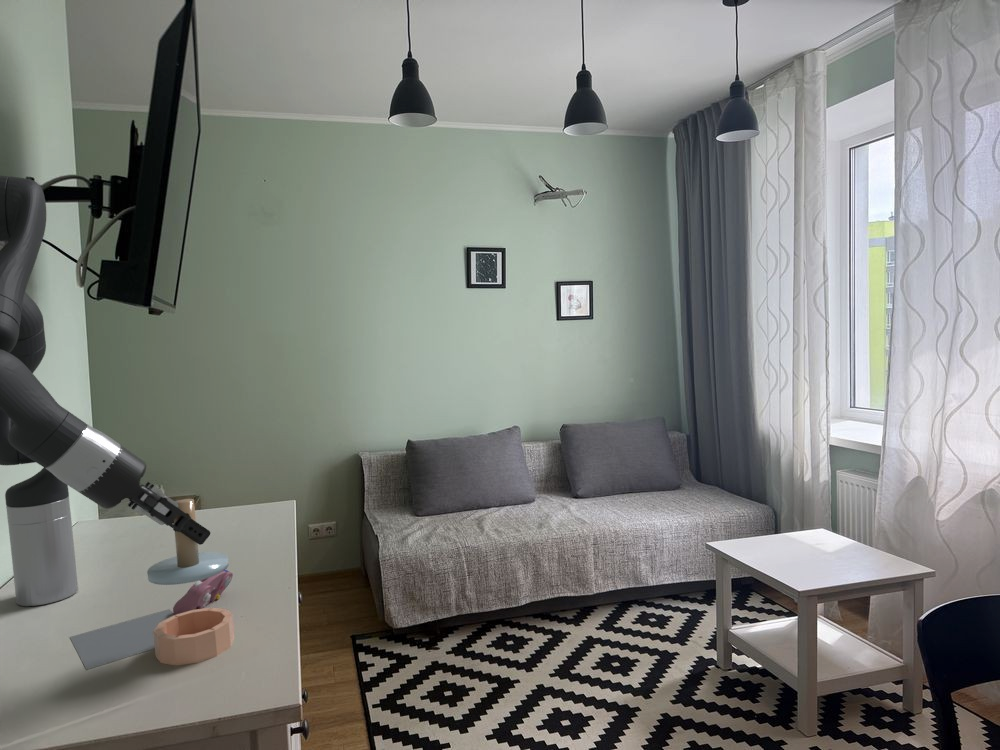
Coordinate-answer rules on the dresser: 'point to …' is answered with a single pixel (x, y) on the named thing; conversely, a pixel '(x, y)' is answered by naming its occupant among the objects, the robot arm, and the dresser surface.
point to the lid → (187, 558)
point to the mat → (118, 640)
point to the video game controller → (203, 592)
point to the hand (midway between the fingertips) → (201, 536)
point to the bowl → (194, 636)
